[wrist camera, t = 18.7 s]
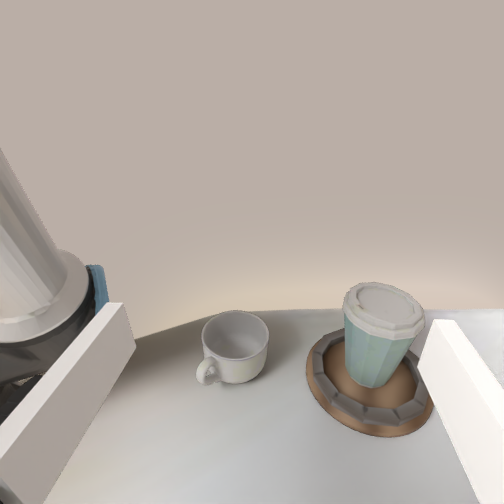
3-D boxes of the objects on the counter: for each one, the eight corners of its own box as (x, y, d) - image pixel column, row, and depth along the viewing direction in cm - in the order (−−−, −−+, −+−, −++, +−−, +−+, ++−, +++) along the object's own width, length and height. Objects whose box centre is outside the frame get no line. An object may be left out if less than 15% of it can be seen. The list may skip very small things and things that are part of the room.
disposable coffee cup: (369, 340, 53) (384, 269, 46) (421, 387, 45) (449, 309, 37) (320, 360, 50) (328, 287, 42) (366, 416, 41) (386, 336, 34)
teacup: (239, 334, 57) (237, 301, 53) (282, 365, 50) (283, 330, 46) (177, 378, 49) (169, 342, 45) (218, 423, 42) (213, 386, 38)
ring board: (308, 429, 40) (310, 418, 39) (304, 331, 57) (304, 321, 56) (457, 444, 38) (463, 433, 37) (407, 338, 55) (410, 327, 54)
